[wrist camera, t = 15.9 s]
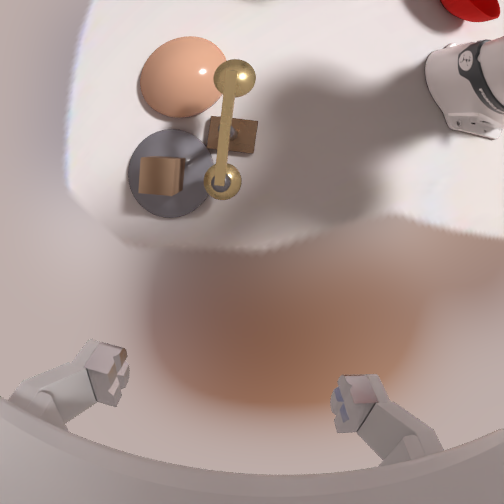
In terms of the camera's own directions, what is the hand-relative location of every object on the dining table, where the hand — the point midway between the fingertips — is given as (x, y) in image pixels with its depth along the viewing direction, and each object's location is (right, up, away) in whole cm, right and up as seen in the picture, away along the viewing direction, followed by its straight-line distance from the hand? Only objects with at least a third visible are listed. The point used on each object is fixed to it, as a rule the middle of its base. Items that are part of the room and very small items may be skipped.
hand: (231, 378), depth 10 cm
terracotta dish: (-10, +32, +28) cm, 44 cm away
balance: (-2, +22, +31) cm, 39 cm away
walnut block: (-12, +17, +32) cm, 38 cm away
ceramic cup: (+43, +57, +19) cm, 74 cm away
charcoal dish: (-12, +17, +33) cm, 39 cm away
